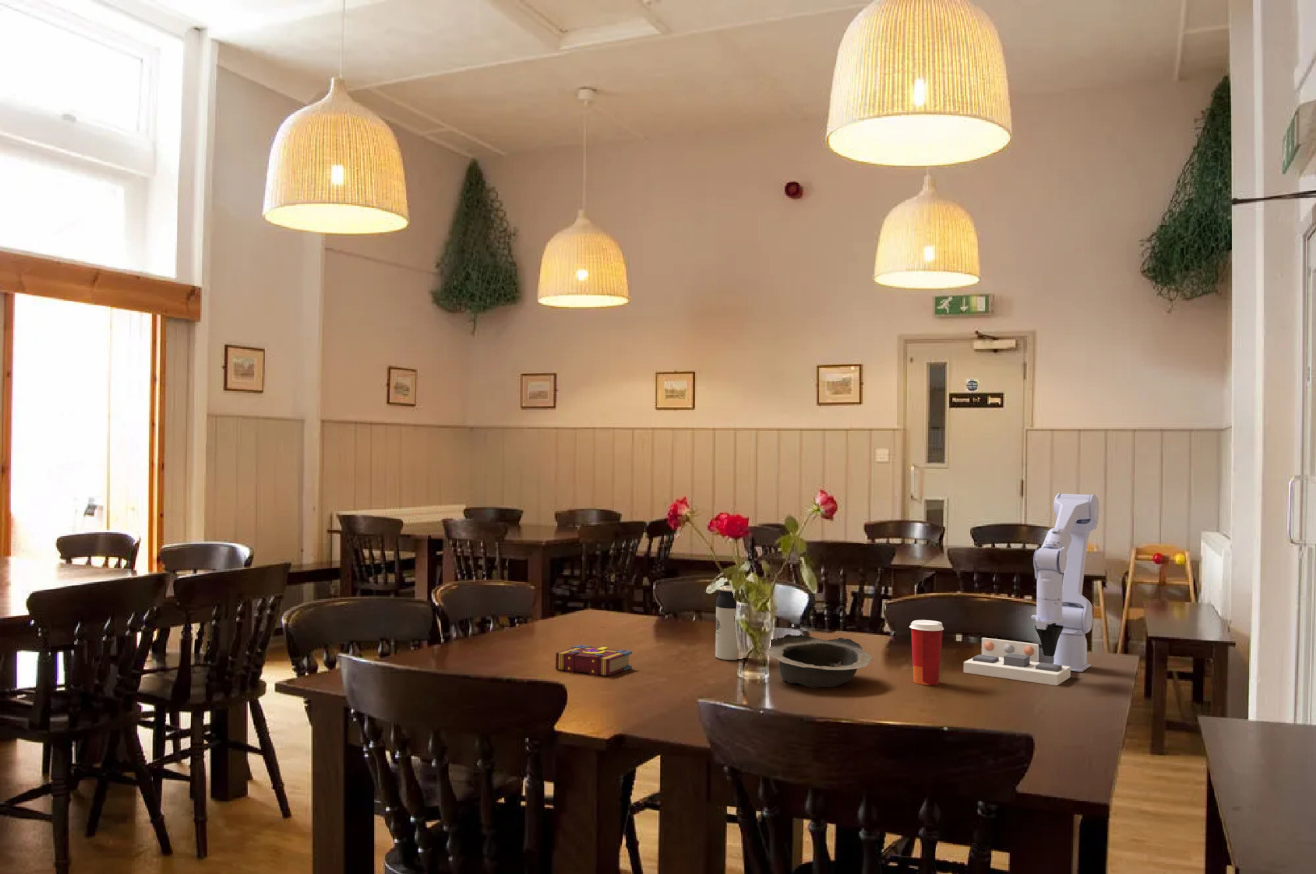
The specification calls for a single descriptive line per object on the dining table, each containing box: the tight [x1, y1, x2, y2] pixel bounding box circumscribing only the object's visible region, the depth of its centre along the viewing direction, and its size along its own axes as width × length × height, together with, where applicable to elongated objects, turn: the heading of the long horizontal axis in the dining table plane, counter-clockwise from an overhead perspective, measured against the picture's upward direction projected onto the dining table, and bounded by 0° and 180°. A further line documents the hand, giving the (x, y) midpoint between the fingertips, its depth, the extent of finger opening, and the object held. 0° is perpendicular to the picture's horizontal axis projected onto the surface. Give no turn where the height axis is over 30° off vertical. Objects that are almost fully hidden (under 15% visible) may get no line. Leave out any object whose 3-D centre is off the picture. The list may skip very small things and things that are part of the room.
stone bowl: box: [766, 633, 874, 689], centre depth 237 cm, size 25×25×9 cm
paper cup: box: [909, 619, 945, 686], centre depth 238 cm, size 8×8×14 cm
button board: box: [963, 657, 1072, 687], centre depth 248 cm, size 12×22×2 cm, turn 54°
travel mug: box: [714, 585, 738, 661], centre depth 263 cm, size 8×8×18 cm
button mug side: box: [972, 653, 999, 663], centre depth 253 cm, size 5×5×3 cm
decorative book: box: [554, 644, 633, 677], centre depth 247 cm, size 11×16×5 cm
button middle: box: [1004, 653, 1030, 668], centre depth 248 cm, size 5×5×3 cm
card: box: [981, 637, 1040, 663], centre depth 260 cm, size 1×14×6 cm, turn 54°
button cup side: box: [1036, 662, 1062, 672], centre depth 244 cm, size 5×5×3 cm
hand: (1049, 655), depth 244 cm, fingers closed
